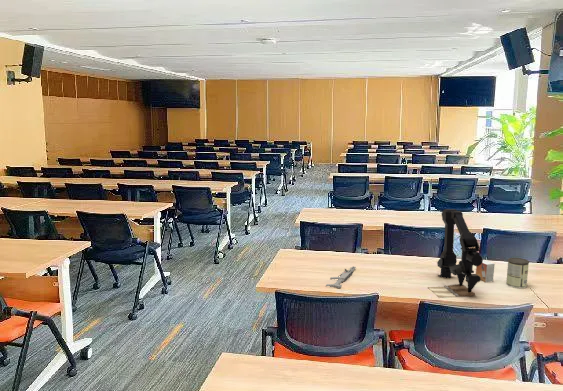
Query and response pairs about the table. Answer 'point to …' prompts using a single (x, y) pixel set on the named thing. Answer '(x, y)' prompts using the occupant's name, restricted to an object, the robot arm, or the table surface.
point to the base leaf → (443, 292)
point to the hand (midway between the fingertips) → (464, 289)
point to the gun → (342, 277)
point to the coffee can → (517, 272)
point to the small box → (485, 271)
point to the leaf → (460, 290)
